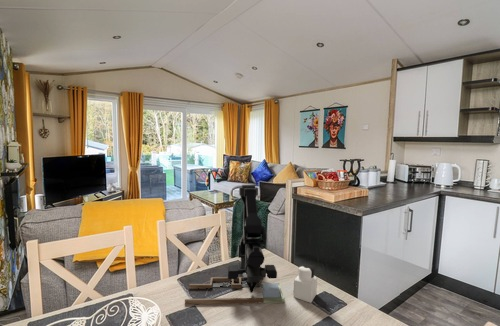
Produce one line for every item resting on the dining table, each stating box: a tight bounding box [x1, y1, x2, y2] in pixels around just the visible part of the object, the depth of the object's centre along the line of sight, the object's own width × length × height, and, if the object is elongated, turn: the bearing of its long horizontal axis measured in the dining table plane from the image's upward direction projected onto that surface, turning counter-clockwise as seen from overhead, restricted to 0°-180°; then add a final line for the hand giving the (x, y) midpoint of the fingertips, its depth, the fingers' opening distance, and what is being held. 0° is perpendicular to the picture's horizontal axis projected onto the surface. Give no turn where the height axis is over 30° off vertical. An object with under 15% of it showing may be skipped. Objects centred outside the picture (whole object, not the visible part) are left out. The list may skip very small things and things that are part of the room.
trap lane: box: [184, 276, 285, 305], centre depth 104 cm, size 16×37×2 cm, turn 94°
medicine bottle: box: [293, 263, 318, 304], centre depth 102 cm, size 7×7×12 cm
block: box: [261, 282, 280, 298], centre depth 101 cm, size 6×6×4 cm
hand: (251, 292), depth 102 cm, fingers closed
